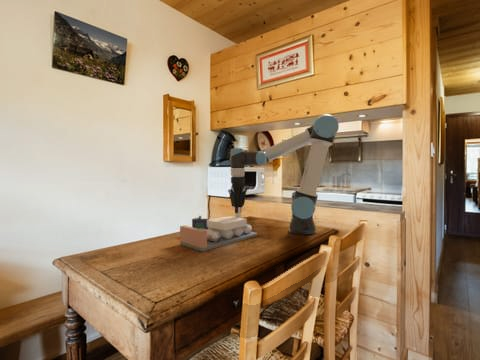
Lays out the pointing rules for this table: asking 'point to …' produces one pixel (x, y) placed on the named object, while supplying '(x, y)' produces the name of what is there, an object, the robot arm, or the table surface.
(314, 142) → the robot arm
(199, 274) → the table surface
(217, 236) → the loose roller
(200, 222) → the flask
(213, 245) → the roller bed
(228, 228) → the stone slab
